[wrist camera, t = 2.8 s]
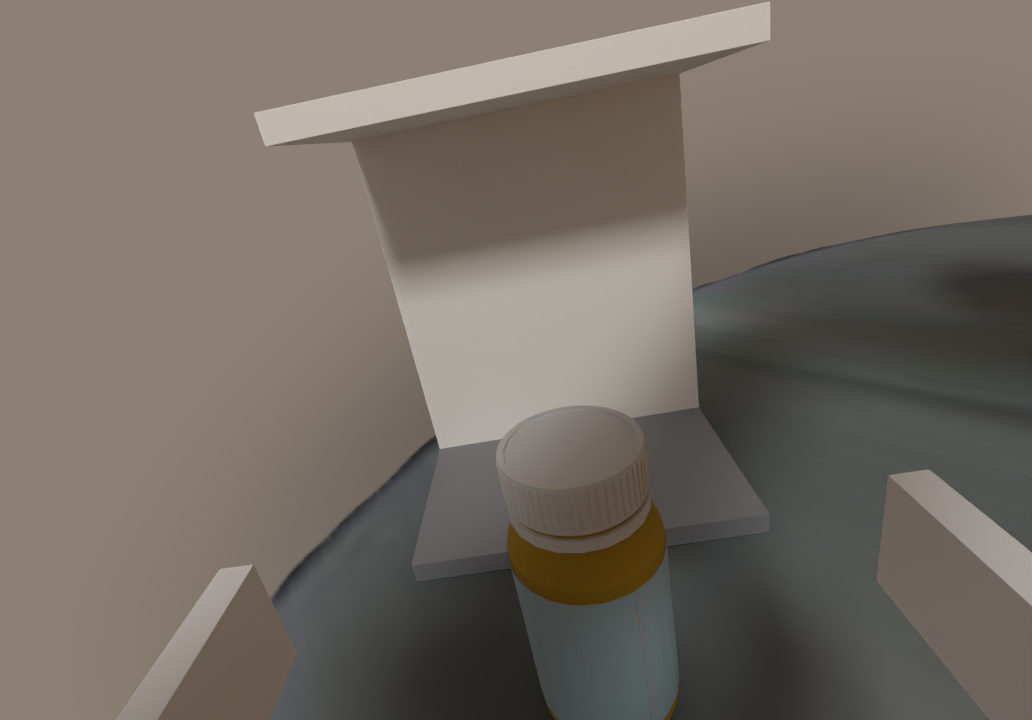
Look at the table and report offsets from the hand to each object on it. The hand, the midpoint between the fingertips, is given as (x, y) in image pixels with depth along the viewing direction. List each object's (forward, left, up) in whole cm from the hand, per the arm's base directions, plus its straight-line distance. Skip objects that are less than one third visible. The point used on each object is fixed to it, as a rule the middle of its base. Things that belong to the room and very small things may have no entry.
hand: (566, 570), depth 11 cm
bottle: (-9, -5, -18) cm, 21 cm away
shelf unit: (-24, -13, -18) cm, 33 cm away
